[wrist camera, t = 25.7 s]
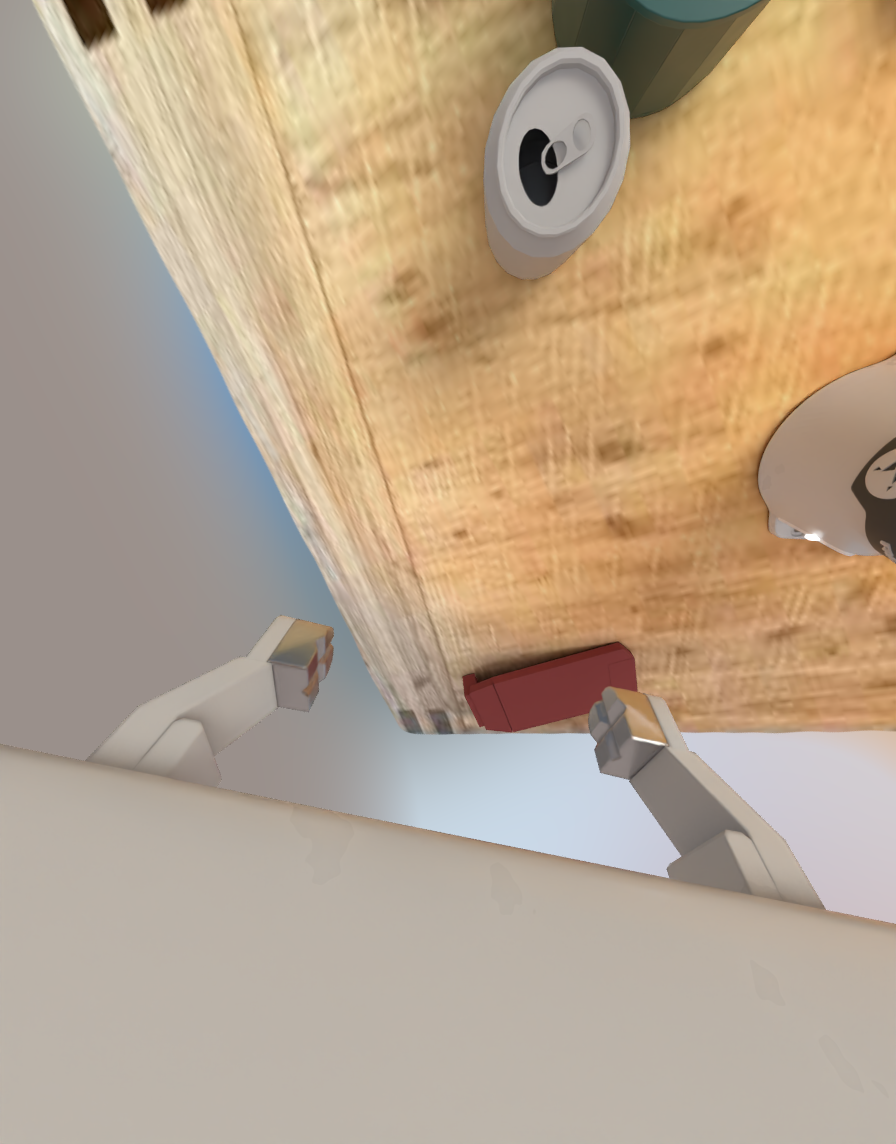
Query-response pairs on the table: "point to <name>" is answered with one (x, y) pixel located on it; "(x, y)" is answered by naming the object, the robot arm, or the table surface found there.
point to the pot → (646, 48)
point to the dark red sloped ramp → (549, 689)
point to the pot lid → (693, 11)
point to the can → (554, 160)
